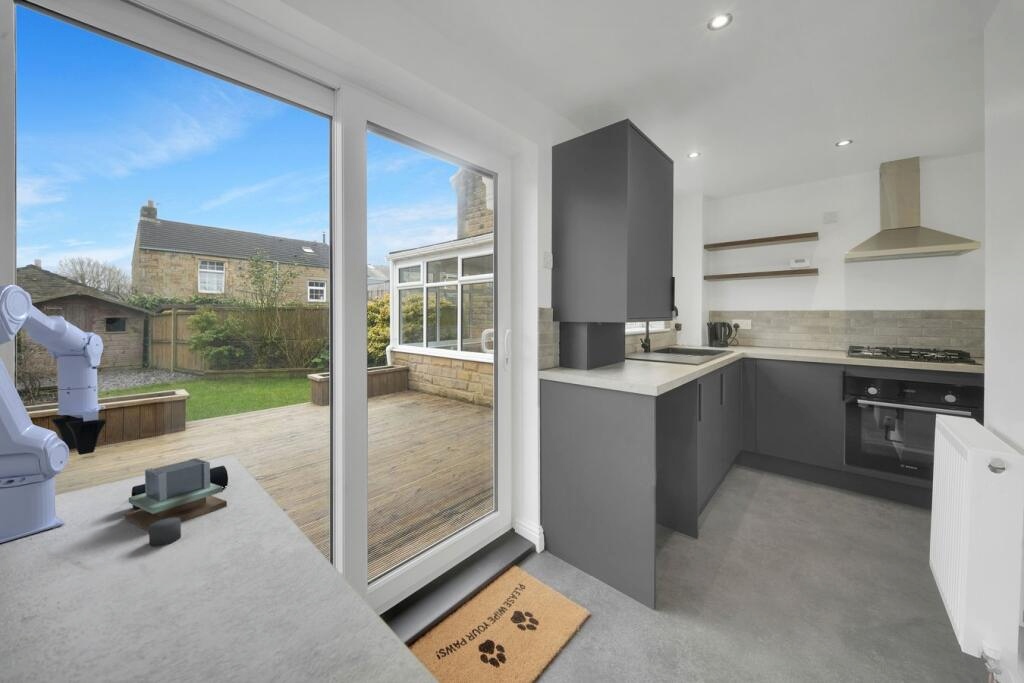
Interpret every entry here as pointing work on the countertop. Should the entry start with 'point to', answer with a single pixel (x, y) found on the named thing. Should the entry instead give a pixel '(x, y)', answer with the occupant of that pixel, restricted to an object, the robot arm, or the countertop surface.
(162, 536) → the knob
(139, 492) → the pipe connector
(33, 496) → the robot arm
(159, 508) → the stand
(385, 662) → the countertop surface
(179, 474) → the housing
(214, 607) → the countertop surface
